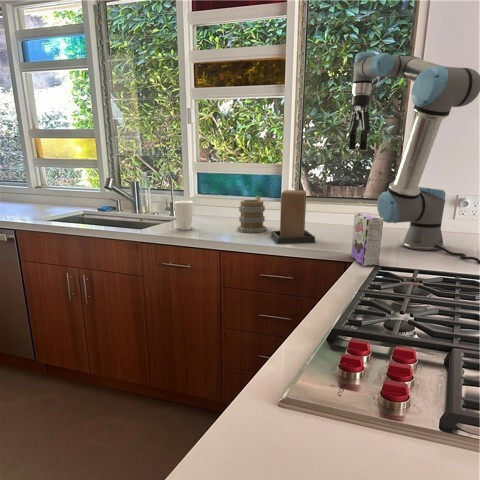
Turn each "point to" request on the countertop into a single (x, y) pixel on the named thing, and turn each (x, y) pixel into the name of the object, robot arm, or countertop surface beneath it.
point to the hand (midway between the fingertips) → (357, 149)
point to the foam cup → (184, 214)
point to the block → (293, 213)
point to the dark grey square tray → (293, 238)
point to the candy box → (367, 238)
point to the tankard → (252, 216)
